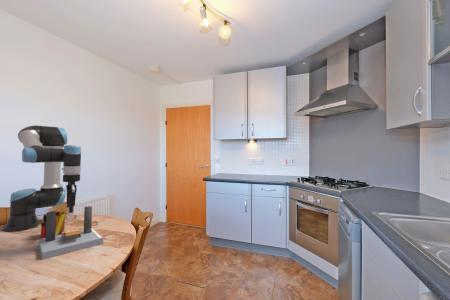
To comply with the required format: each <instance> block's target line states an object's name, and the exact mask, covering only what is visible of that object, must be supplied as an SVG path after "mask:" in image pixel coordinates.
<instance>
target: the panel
mask: <svg viewBox="0 0 450 300" xmlns="http://www.w3.org/2000/svg"><path fill="white" fill-rule="evenodd" d="M78 230H81V233H80V234H75V235H70V236H64V232H65V231H64V232H62V235H57V236H55V240H54V241H50V242H46V238H43V239H41V238H39V239H38V247H39V252H40V255H41V258H42V259H41V260H45V259H50V258H54V257H57V256H61V255H64V254H68V253H73V252H77V251H79V250H80V249H81V250H85V249H88V248H91V246H92V247H96V246H100V245H103V244H104V237H103V236H102V235H101V234H100V233H99V232H98V231H97V230H96V229H95V228H93V227H91V232H90V233H84V229H82V228H78ZM95 245H96V246H95ZM87 247H88V248H87ZM84 248H85V249H84ZM81 250H80V251H81Z"/></svg>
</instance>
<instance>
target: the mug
mask: <svg viewBox="0 0 450 300" xmlns="http://www.w3.org/2000/svg"><path fill="white" fill-rule="evenodd" d="M55 212H56V223H55V236H57V235H62V232H65V223H66V221H65V219H66V213H65V212H64V211H55ZM46 216H47V213H45V214H43V216H42V222H41V224H40V226H41V227H40V232H41V233H40V239H43V238H46Z"/></svg>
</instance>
